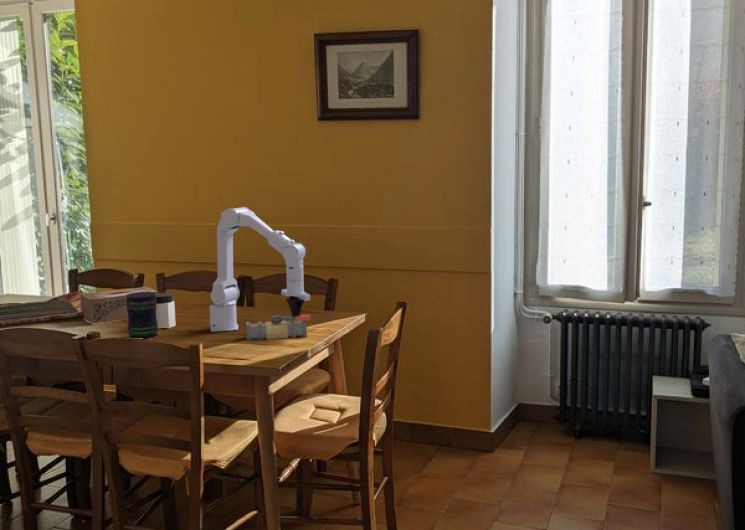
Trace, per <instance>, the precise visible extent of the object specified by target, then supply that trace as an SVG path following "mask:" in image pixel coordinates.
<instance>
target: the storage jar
mask: <svg viewBox="0 0 745 530" xmlns="http://www.w3.org/2000/svg"><path fill="white" fill-rule="evenodd" d="M155 296H156V293H154V292H137V293H131V294H127V295H126V298H127V300H126V301H127V303H126V305H127V312H128V320H127V331H128V338H129V337H131V338H143V339H149V338H154V337H156V336H158V337H159V334H158V333H159V331H158V330H159V329H158V325H157V320H156V309H157V307H156V297H155ZM157 329H158V330H157ZM154 339H155V338H154Z"/></svg>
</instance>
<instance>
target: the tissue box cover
mask: <svg viewBox="0 0 745 530" xmlns="http://www.w3.org/2000/svg"><path fill="white" fill-rule="evenodd" d="M137 292H154V293H160V291H158V290H155V289H154V288H151V287H148V286H141V287H136V288H134V287H133V288H126V289H125V288H124V289H123V288H122V289H115V290H106V291H98V292H89V293H88V292H87V293H79V298H80V299H79V300H80V309H81V310H80V312H81V311H82V312H83V315H84V318H85V319H86V320H88V321H89V322H91V323H99V322H107V321H113V320H121V319H128V312H127V305H126V303H127V301H126V300H127V298H126V295H127V294H131V293H137Z"/></svg>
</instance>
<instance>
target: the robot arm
mask: <svg viewBox="0 0 745 530" xmlns="http://www.w3.org/2000/svg"><path fill="white" fill-rule="evenodd" d="M242 227H249V228H251V229H252V230H254V231H256V232H257V233H258V234H260V235H262V237H265V238H266V239H267V243H268V244H269V246H271V247H272V248H274V249H275V250H277V252H279V253H280V254H281V255H282V257H283V259H284V260H285V266H286V269H285V270H286V288H284V289H281V291H280V292H281V293H280V294H281V296H287V297H288V298H286V299H285V301H286V302H287V305H288V307H289V309H290V312H291V316H295V315H301V310H302V307H303V305H304V302H307V301H311V294H310V293H307V292H306V291H305V289H304V288H305V285H304V284H305V283H304V280H305V279H304V258H305V257H306V254H307V249H306V247H305V246H304V245H303V244H302V243H301V242H296V241H295V240H294V239H291V238H289V237H288V236H287V235H285V232H284V231H283V230H274V229H272V228H271V227H270V226H268V224H266V222H264V221H263V220H262V219H261V218H259V217H258V216H257V215H256V214H255V212H254V211H252V210H250V209H249V208H248V207H246V206H240V207H237V208H234V207H233V208H231V207H230V208H227V209H225V210H224V211H222V212H221V213H220V220H219V223H218V225H217V227H216V248H217V249H216V250H217V252H216V253H217V256H216V257H217V258H216V259H217V260H216V261H217V262H216V263H217V271H216V272H217V278H216V279H215V281H214V282H213V284H212V289H211V290H212V291H211V292H210V298H211V301H212V303H213V305H212V304H211V305H209V327H210V332H225V331H238V330H239V324H238V322H237V319H238V317H237V301H238V299H239V297H240V290H239V287H238V280H237V279H236V278H235V277H234V234H235V232H236V231H237V230H239V229H240V228H242Z"/></svg>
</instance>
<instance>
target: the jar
mask: <svg viewBox="0 0 745 530" xmlns="http://www.w3.org/2000/svg"><path fill="white" fill-rule="evenodd" d="M155 297H156V307H157V309H156V320H157V325H158V328H169V329H172V328H174V327H176V305H175V300H174V294H173V293H172V292H159V293H156V296H155ZM171 327H172V328H171Z"/></svg>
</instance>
